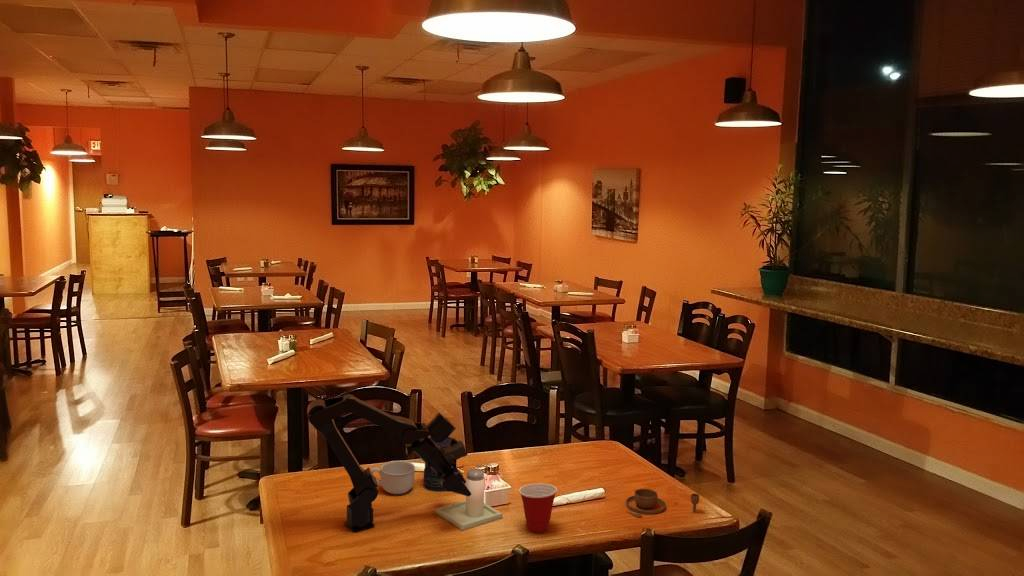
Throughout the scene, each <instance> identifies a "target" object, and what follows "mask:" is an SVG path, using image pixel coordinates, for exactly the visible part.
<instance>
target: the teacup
mask: <svg viewBox="0 0 1024 576" xmlns="http://www.w3.org/2000/svg"><path fill="white" fill-rule="evenodd" d="M370 471H371V473H372V475H373V476H374V472H377V473H378V474H379V476H380V479H379V478H377V477H376V480H377V484H378V486H381V487H382V488H383V490H385V492H387V493H388V494H391V495H397V494H398V495H403V494H407V492H409V491H410V490H411V489H412V488H413V487H414V484H415V478H416V477H415V474H416V473H415V472H416V466H415V464H413V463H412V462H410V461H406V460H391V461H386V462H384V463H383V464H382V465H381V466H380V467H377V466H376V467H373V468H370Z"/></svg>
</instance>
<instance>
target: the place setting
mask: <svg viewBox="0 0 1024 576" xmlns="http://www.w3.org/2000/svg"><path fill="white" fill-rule="evenodd" d="M658 496H659V495H658V492H657V491H655V490H653V489H649V488H638V489H636V490H635V491H634V494H633V495H632V496H629V497H628V498H626V500H625V505H626V507H627V508H628V509H629V510H630V509H631V510H630V511H632V512H629V511H627V512H628V513H627V514H630V513H631V514H630V515H632V516H633V517H634V518H642V517H643V515H657V514H660V513H662V512H663V511H665V508H666V502H665V501H664V500H662V498H659V497H658ZM629 502H630V503H632V502H635V503H636V505H637V506H638V507H639V508H641V509H639V508H636V507H633V506H631V505H630V503H629ZM657 502H658V503H659V504H658V503H657ZM699 502H700V494H698V493H691V495H690V503H691V504H692V511H691V512H692V514H696V513H697V505H699ZM675 503H676V504H675V505H677V504H678V502H675ZM657 504H658V505H660V504H661V505H662V506H661V505H660V506H661V508H659V509H655V510H651V509H652V508H653V507H655V506H656V505H657ZM662 507H663V508H662ZM649 509H650V510H649ZM633 512H634V513H633ZM641 513H642V514H641ZM656 513H657V514H656Z"/></svg>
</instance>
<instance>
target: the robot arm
mask: <svg viewBox="0 0 1024 576" xmlns="http://www.w3.org/2000/svg"><path fill="white" fill-rule="evenodd" d="M348 413H351V414H353V415H356V416H357V417H359V418H362V419H364V420H365V421H367V422H369V423H372V424H373V425H375V426H377V427H379V428H382V429H384V430H385V431H386V432H388V433H389V434H391V435H392V436H393V437H394V438H395V439H397V441H399V442H401V443H402V444H404V445H405V454H406V456H408V457H409V456H411V455H412V454H413V453H414V454H416V456H418V458H420V459H421V460H422V461H423V462H424V464H425V463H426V465H427V467H428V468H431V469H432V470H433V471H435V472H436V475H437V476H438V477H440V476H441V475H444V476H443V477H442V478H441V485H442V488H443V489H444V490H445V491H444V492H446V493H447V492H449V493H451V492H452V493H455V494H458V495H462V496H465V497H466V496H468V497H469V496H470V495H471V492H470V491H469V489H468V488H467V487H466V480H467V479H465V477H464V475H463V473H462V471H461V470H460V469H459V468H458V467H457V462H458V461H457V460H459V459H461V458H465V457H466V456H468V451H467V449H466V447H465V444H464V442H463V441H462V440H461V439H460V440H458V439H457V438H455V437H452V438H453V439H450V443H449V445H448V447H447V448H445V449H443V448H442V447H440V446H439V447H438V446H437V445H436V444H435V443H434V442H433V441H432V440H431V439H430V438H429V437H431V438H432V439H433V440H434V441H435V442H439V443H441V442H443V441H444V440H445V439H446V438H447V437H450V436H451V435H452V434H453V433H454V432H455V431H456V430H457V427H456V426H455V425H454V423H452V421H451V420H449V418H448V417H446V416H444V415H443V414H442V413H441V412H438V413H436V415H435V416H434V417H433V418H432V420H430V421H429V422H428V423H427V424H426V422H417V421H415V422H414V421H413V420H412V419H410V418H408V417H407V418H406V417H403V416H400V415H393V414H389V413H388V412H386V411H384V410H381V409H380V408H378V407H376V406H373V405H371V404H369V403H367V402H365V401H363V400H362V399H359V398H358V397H355V396H354V395H353V394H350V393H348V394H344V395H342V396H336V397H330V398H326V399H321V398H320V399H314V400H312V401H311V402H309V404H308V406H307V418H308V419H307V420H308V422H309V423H310V425H312V427H313V428H314V429H315V430H316V431H317V432H318V433H320V434H321V435H322V436H323V437H324V438H325V439H326V441H327V442H328V444H329V446H330V448H331V449H332V450H333V452H334V454H335V456H336V457H337V459H338V460H339V462H340V463H341V466H343V468H344V470H345V472H347V474H348V476H349V478H350V481H351V484H352V486H353V487H352V488H351V490H349V491H348V492H347V497H348V498H347V499H348V503H349V504H347V505H346V521H344V522H343V525H345V526H346V528H348V529H349V530H350V531H352V532H353V533H358V532H360V531H361V532H362V531H365V530H368V529H372V528H374V527H375V526H376V525H375V524H374V508H373V504H372V503H373V502H374V501H376V499H377V497H378V495H379V491H378V487H379V483H377V480H376V478H377V477H376V476H374V474H373V475H372V473H371V468H370V467H367V468H366V469H365V468H363V467H362V466H361V465H360V463H359V462H358V460H357V459H356V457H355V455H354V454H353V452H352V450H351V449H350V447H349V445H348V444H347V443H346V441H345V439H344V437H343V436H342V434H341V433H340V430H339V429H338V428H337V426H336V424H335V419H337V418H339V417H341V416H342V415H345V414H348Z"/></svg>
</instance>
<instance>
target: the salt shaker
mask: <svg viewBox="0 0 1024 576" xmlns="http://www.w3.org/2000/svg"><path fill="white" fill-rule="evenodd" d="M466 472H467V474H466V475H467V476H466V479H465V480H466V483H465V485H466V487H467V488H468V489H469V491H470V492H471V495H470V496H469V497H468V496H465V500H466V515H467V516H468V517H472V518H477V517H481V516H483V514H484V503H485V471H484V470H483V469H480V468H470V469H468V470H467V471H466Z"/></svg>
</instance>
